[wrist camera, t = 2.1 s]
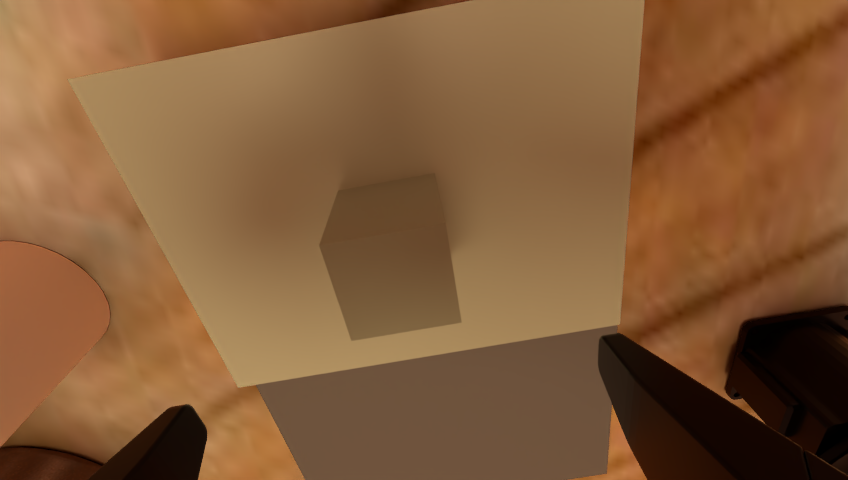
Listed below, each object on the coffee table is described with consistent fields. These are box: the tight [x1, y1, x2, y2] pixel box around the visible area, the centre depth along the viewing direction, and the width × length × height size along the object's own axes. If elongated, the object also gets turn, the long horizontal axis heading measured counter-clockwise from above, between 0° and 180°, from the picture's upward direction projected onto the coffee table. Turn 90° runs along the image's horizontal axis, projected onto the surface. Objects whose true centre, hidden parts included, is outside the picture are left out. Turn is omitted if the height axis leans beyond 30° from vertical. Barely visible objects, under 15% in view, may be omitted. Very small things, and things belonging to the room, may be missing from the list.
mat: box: [256, 325, 617, 480], centre depth 28 cm, size 22×16×1 cm
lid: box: [67, 0, 645, 388], centre depth 15 cm, size 18×14×6 cm
